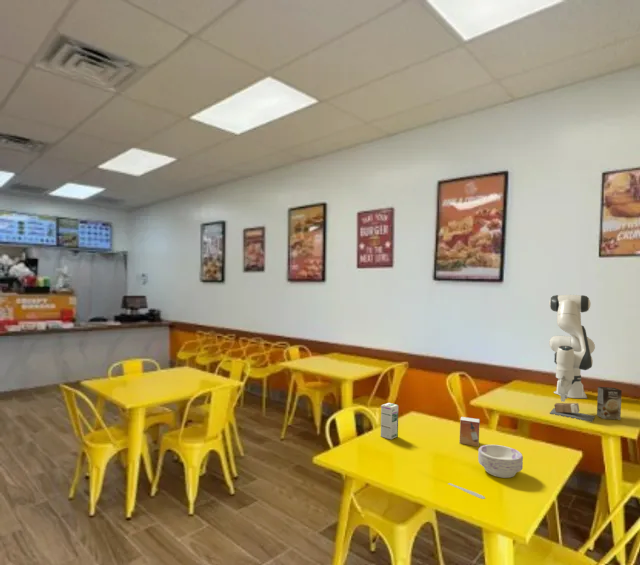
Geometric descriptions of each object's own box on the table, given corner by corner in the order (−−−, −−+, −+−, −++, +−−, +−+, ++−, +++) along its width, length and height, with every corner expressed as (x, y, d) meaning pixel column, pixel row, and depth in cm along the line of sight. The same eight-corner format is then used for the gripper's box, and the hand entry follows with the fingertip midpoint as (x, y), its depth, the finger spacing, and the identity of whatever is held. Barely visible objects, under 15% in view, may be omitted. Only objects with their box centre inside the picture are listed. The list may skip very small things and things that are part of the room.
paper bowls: (473, 462, 165) (473, 442, 165) (513, 465, 163) (514, 445, 163) (484, 480, 149) (485, 458, 149) (529, 483, 148) (529, 461, 148)
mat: (553, 409, 243) (553, 408, 243) (594, 416, 231) (594, 415, 231) (549, 413, 234) (549, 412, 234) (592, 421, 221) (592, 420, 221)
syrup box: (391, 439, 186) (392, 407, 186) (380, 436, 190) (381, 404, 190) (398, 436, 190) (399, 404, 190) (387, 433, 194) (388, 402, 194)
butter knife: (481, 499, 135) (486, 496, 137) (412, 471, 155) (417, 468, 157) (481, 501, 135) (486, 498, 137) (412, 472, 155) (417, 469, 157)
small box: (459, 443, 184) (460, 419, 184) (460, 439, 189) (460, 416, 189) (478, 446, 181) (479, 422, 181) (478, 442, 186) (479, 418, 186)
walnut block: (556, 403, 240) (578, 403, 233) (557, 410, 239) (579, 410, 232) (554, 404, 236) (576, 405, 229) (555, 412, 235) (578, 412, 228)
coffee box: (603, 418, 227) (603, 389, 227) (596, 415, 234) (597, 386, 234) (621, 420, 226) (621, 390, 227) (614, 416, 233) (614, 387, 233)
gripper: (568, 379, 225) (567, 404, 225) (574, 373, 241) (573, 397, 241) (555, 377, 229) (554, 402, 229) (561, 371, 245) (560, 395, 245)
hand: (564, 399), depth 235 cm, fingers open, 7 cm apart
